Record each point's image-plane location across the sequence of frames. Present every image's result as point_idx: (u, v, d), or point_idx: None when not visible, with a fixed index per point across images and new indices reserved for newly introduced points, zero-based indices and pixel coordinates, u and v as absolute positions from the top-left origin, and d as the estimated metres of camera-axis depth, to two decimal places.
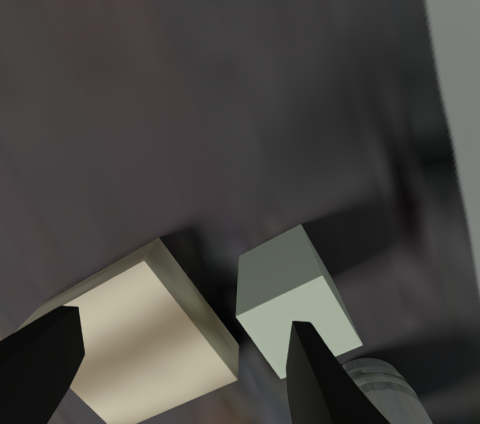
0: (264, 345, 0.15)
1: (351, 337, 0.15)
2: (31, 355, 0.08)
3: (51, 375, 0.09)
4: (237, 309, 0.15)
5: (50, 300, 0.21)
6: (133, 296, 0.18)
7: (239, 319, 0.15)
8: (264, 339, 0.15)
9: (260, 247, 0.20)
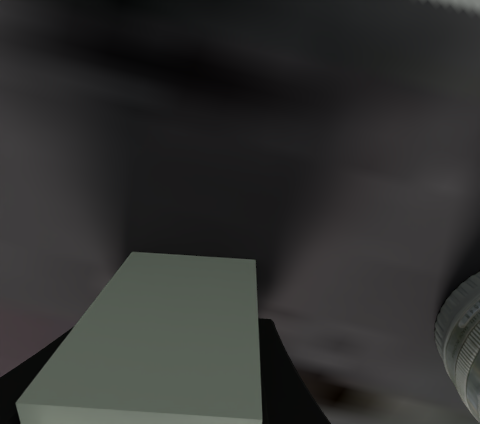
0: None
1: None
2: None
3: None
4: None
5: None
6: None
7: None
8: None
9: None
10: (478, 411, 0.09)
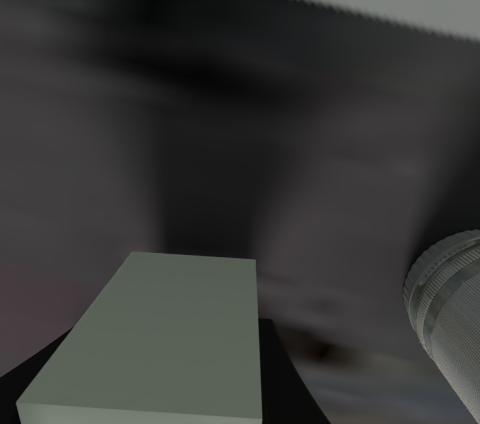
0: None
1: None
2: None
3: None
4: None
5: None
6: None
7: None
8: None
9: None
10: (431, 349, 0.12)
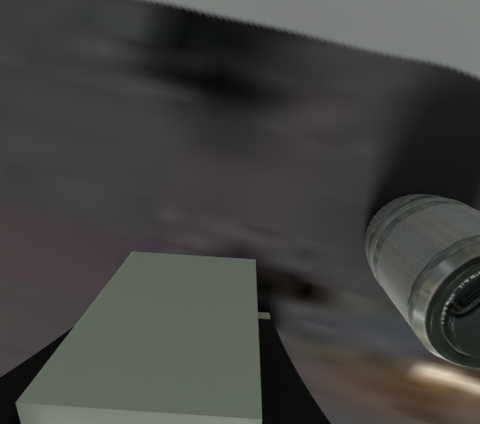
0: None
1: None
2: None
3: None
4: None
5: None
6: None
7: None
8: None
9: None
10: (378, 275, 0.17)
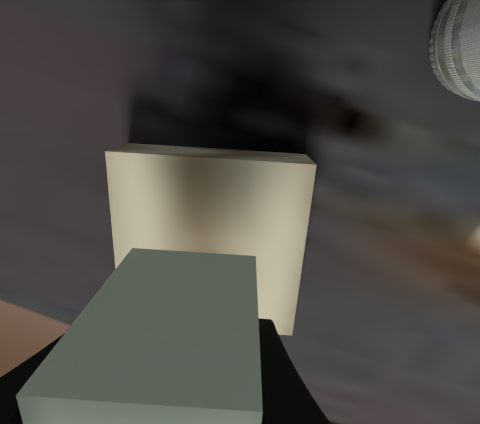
0: None
1: (223, 420, 0.06)
2: None
3: None
4: None
5: None
6: (140, 192, 0.15)
7: None
8: None
9: None
10: (459, 48, 0.13)
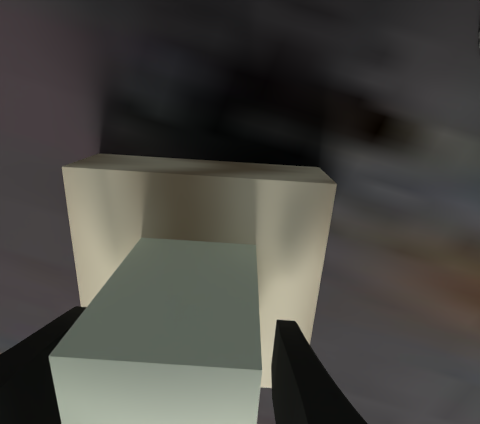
0: None
1: (228, 378, 0.07)
2: None
3: None
4: None
5: None
6: (109, 219, 0.12)
7: None
8: None
9: None
10: None
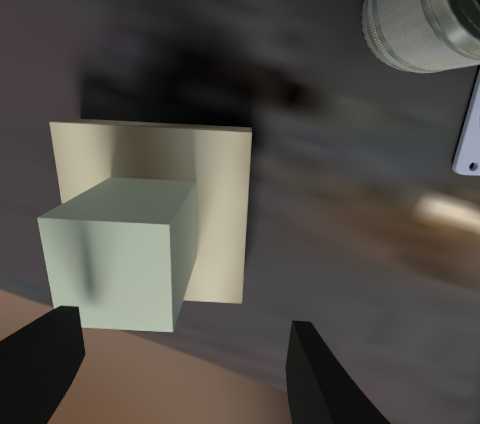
0: (112, 321, 0.12)
1: (149, 231, 0.11)
2: (31, 355, 0.08)
3: (51, 375, 0.09)
4: None
5: None
6: (86, 162, 0.16)
7: None
8: (103, 317, 0.12)
9: None
10: (378, 17, 0.14)
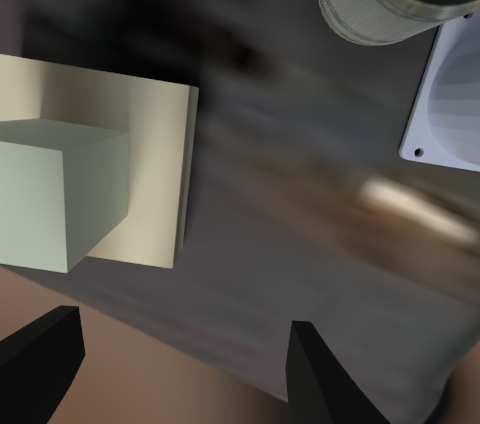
0: (2, 255, 0.11)
1: (40, 156, 0.10)
2: (31, 355, 0.08)
3: (51, 375, 0.09)
4: None
5: None
6: (14, 99, 0.15)
7: None
8: None
9: None
10: None
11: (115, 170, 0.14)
